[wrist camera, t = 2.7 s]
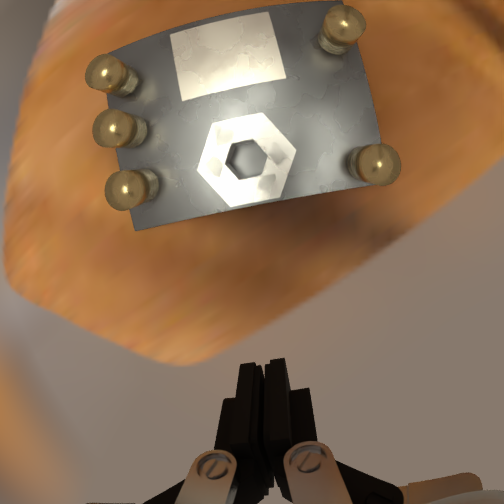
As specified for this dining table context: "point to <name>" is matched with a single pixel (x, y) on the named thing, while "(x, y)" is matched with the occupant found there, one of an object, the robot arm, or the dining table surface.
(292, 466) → the robot arm
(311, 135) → the jig plate
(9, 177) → the dining table surface
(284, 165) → the steel nut
